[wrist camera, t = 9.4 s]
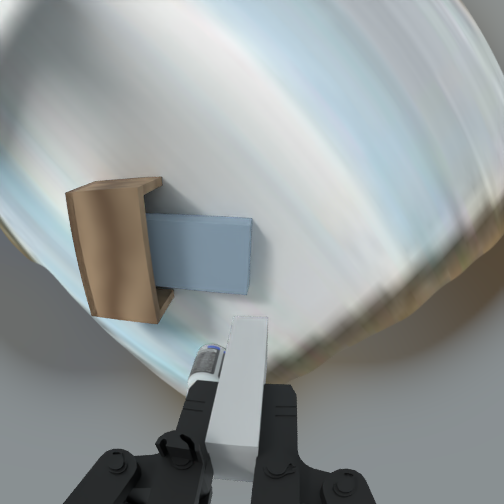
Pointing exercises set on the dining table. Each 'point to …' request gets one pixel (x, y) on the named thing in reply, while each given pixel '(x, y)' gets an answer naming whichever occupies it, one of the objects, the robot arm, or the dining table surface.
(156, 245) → the panel
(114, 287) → the shelf
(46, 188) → the dining table surface
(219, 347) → the pill bottle
